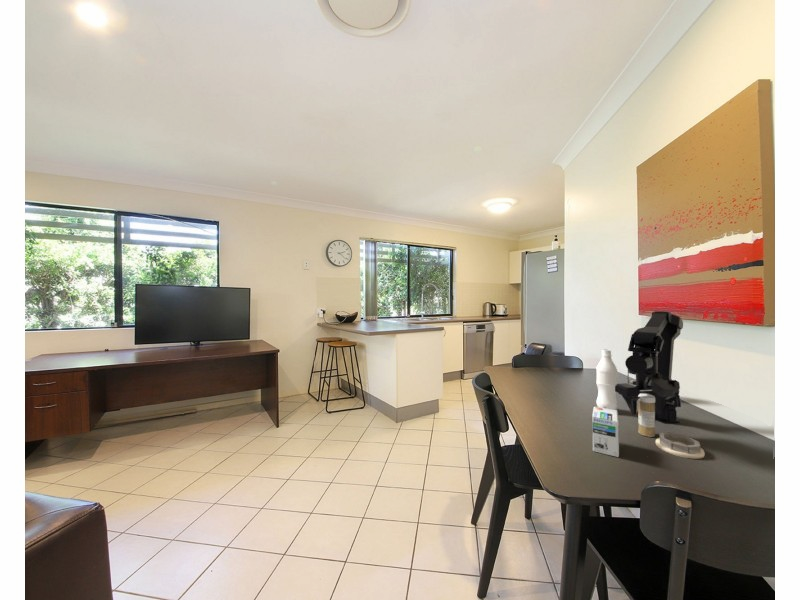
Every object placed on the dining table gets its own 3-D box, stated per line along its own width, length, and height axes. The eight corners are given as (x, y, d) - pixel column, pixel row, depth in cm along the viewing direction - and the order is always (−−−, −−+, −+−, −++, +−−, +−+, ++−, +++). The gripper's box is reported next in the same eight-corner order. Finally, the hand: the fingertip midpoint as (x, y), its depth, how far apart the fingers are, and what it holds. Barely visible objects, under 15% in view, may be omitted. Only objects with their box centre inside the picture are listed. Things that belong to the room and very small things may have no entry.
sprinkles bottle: (639, 430, 106) (639, 392, 106) (656, 434, 102) (656, 395, 102) (636, 434, 103) (636, 395, 102) (654, 438, 99) (654, 398, 99)
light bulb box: (619, 458, 88) (619, 421, 88) (592, 451, 92) (591, 416, 92) (618, 443, 97) (618, 409, 97) (593, 437, 101) (593, 405, 101)
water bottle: (610, 407, 127) (610, 348, 126) (621, 414, 120) (621, 351, 119) (592, 406, 128) (592, 348, 127) (602, 413, 120) (602, 351, 120)
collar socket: (646, 441, 98) (646, 432, 98) (677, 439, 99) (677, 430, 99) (681, 460, 87) (681, 449, 87) (715, 457, 88) (715, 447, 88)
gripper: (642, 375, 93) (642, 425, 94) (696, 373, 95) (696, 422, 95) (613, 367, 104) (613, 411, 105) (662, 365, 106) (662, 409, 106)
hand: (646, 413), depth 102 cm, fingers open, 9 cm apart
